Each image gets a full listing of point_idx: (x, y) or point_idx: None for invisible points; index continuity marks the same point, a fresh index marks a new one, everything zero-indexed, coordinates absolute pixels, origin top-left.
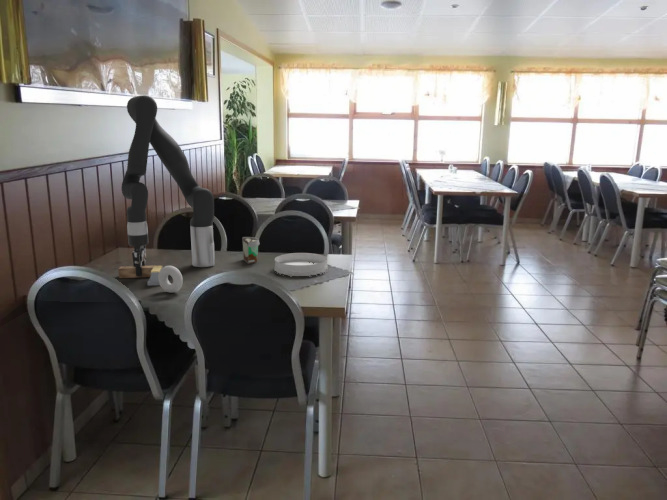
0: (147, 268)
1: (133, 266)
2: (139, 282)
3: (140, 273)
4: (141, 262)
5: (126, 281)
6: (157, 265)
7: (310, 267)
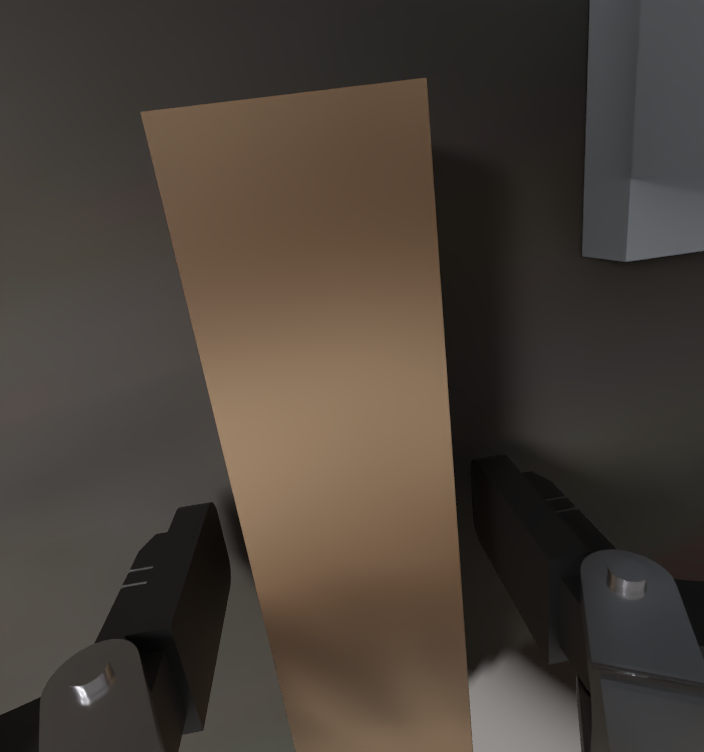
0: (449, 433)
1: (321, 737)
2: (697, 394)
3: (543, 489)
4: (640, 653)
5: None
6: (178, 260)
7: None
